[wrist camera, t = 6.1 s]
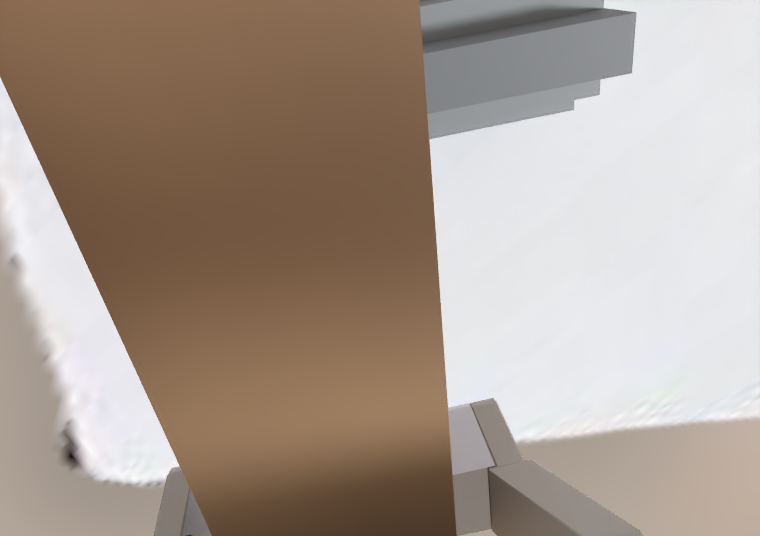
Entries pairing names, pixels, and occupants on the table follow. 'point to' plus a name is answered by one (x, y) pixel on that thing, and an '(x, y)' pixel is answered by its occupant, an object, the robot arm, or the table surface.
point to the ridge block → (517, 58)
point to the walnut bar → (258, 242)
